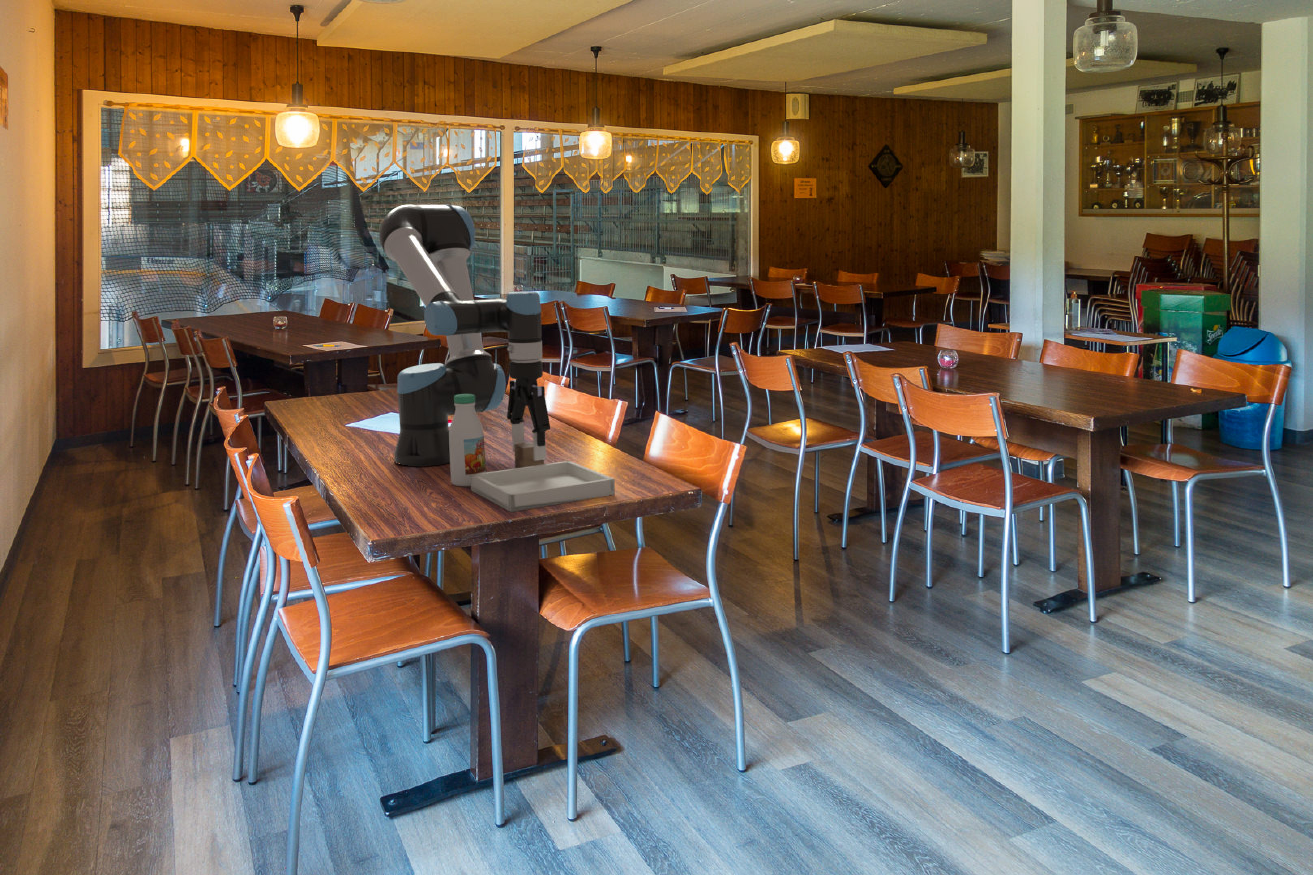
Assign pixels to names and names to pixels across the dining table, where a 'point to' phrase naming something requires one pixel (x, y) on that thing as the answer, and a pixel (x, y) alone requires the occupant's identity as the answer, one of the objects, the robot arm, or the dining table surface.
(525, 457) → the walnut block
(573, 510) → the dining table surface
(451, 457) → the milk bottle
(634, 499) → the dining table surface
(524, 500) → the tray
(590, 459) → the dining table surface
